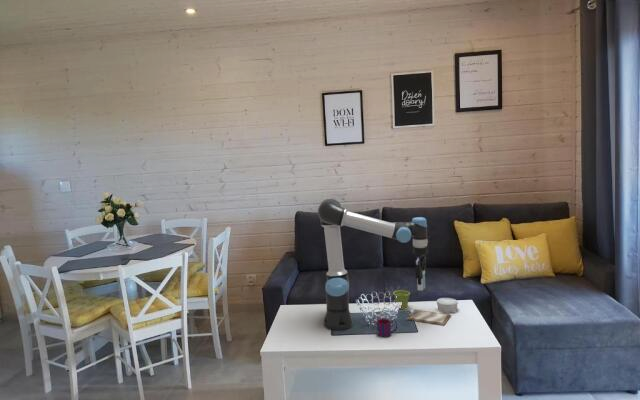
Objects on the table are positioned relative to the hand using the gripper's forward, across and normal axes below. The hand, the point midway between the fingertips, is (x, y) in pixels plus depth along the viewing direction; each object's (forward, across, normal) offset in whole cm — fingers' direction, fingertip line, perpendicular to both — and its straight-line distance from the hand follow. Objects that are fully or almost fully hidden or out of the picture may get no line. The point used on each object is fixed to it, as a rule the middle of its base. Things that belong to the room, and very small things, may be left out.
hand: (421, 288), depth 239 cm
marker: (0, 0, 0) cm, 0 cm away
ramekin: (+14, +11, -11) cm, 21 cm away
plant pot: (+14, +5, +13) cm, 20 cm away
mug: (+14, -33, +7) cm, 36 cm away
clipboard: (+14, -4, -5) cm, 15 cm away
